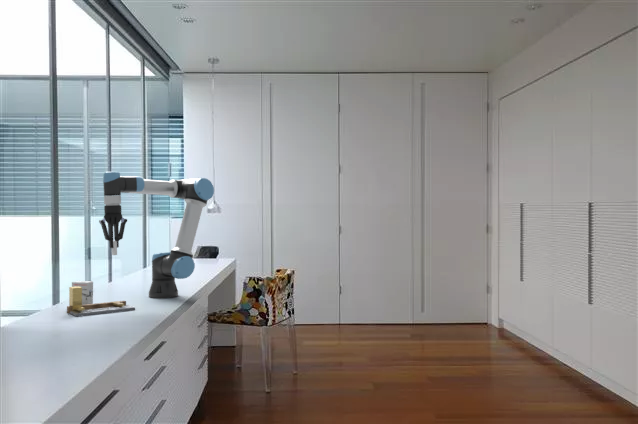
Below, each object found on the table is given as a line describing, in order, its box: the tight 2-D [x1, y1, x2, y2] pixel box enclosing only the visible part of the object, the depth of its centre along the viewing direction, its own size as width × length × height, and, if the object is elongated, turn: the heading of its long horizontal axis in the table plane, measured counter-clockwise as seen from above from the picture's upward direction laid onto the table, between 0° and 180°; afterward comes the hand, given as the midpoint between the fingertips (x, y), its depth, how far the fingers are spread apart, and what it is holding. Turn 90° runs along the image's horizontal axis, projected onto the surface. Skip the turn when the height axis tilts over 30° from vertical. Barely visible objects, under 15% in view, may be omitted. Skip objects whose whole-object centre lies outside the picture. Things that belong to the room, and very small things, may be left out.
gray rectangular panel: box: [69, 304, 136, 317], centre depth 261 cm, size 26×8×1 cm, turn 130°
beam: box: [66, 300, 127, 314], centre depth 264 cm, size 26×9×3 cm, turn 130°
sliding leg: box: [68, 286, 85, 311], centre depth 258 cm, size 4×10×11 cm, turn 40°
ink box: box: [71, 280, 94, 305], centre depth 276 cm, size 9×5×12 cm, turn 84°
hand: (114, 254), depth 274 cm, fingers closed
